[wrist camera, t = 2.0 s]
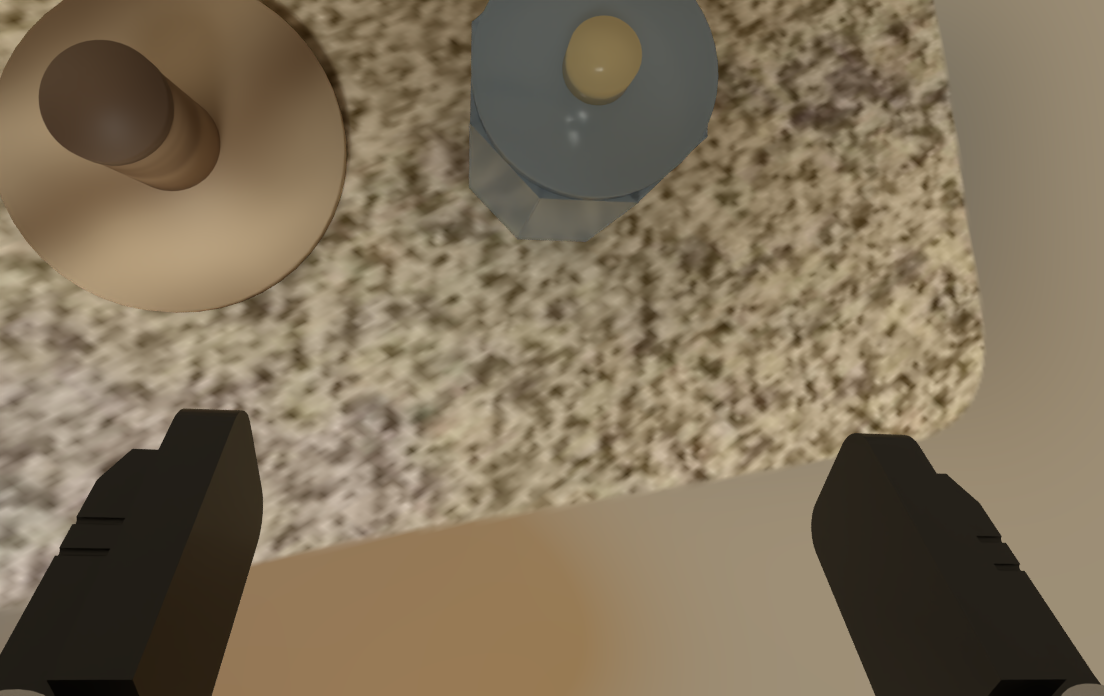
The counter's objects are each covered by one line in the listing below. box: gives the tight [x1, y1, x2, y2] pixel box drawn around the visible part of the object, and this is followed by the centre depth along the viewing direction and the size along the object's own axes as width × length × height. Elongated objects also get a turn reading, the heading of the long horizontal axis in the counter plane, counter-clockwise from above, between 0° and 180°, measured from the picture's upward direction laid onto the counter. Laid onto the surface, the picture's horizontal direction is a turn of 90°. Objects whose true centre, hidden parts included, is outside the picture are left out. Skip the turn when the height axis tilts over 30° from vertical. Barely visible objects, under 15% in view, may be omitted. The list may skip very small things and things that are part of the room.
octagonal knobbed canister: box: [469, 0, 718, 242], centre depth 24 cm, size 6×6×11 cm
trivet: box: [0, 0, 347, 313], centre depth 28 cm, size 12×12×1 cm
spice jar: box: [39, 40, 220, 191], centre depth 25 cm, size 4×4×5 cm
